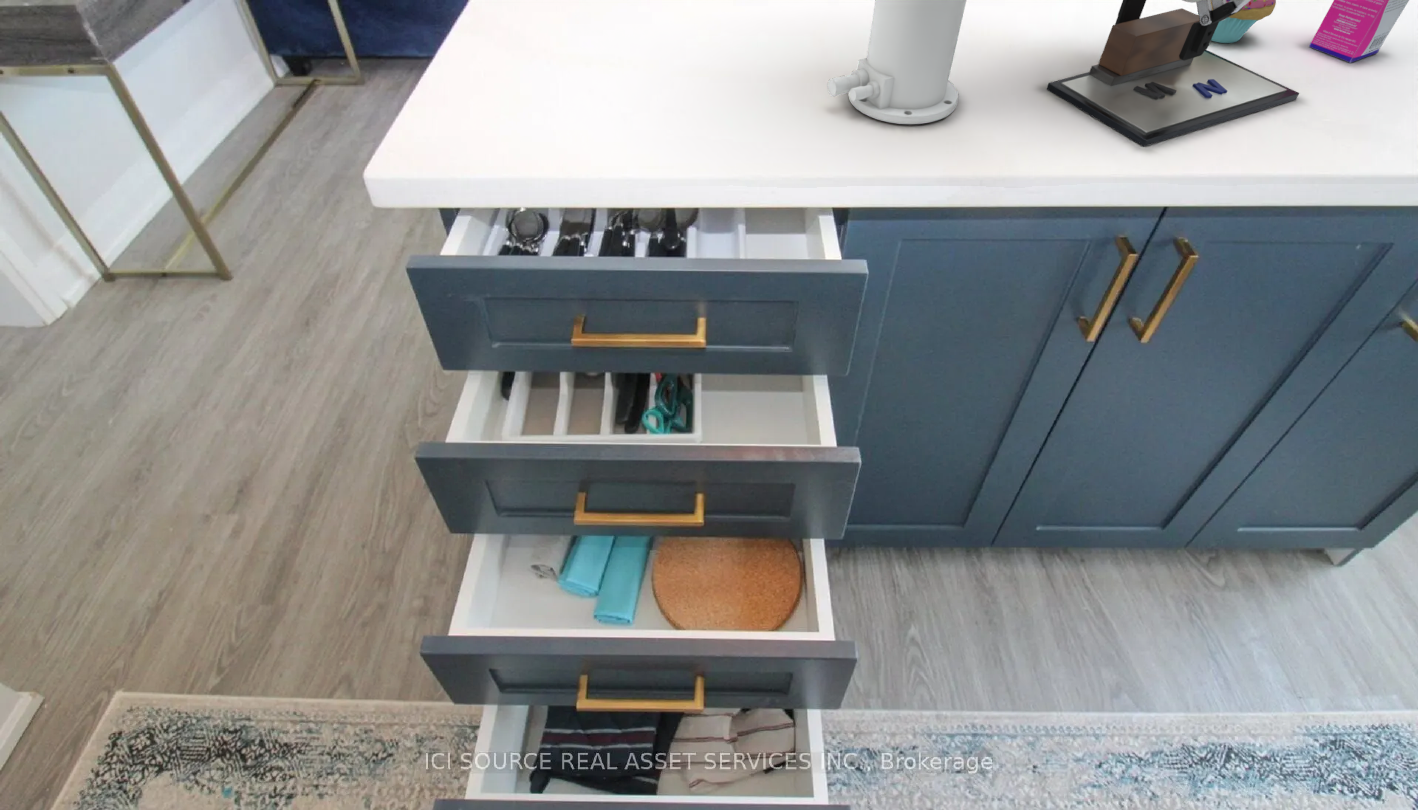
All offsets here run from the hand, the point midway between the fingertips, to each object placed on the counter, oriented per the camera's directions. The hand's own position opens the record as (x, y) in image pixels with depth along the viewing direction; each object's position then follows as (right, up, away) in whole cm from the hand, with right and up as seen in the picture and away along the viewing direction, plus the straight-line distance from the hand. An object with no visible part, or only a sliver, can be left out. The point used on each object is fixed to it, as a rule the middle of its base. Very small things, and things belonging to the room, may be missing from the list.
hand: (1156, 41), depth 89 cm
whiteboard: (+2, -6, 0) cm, 6 cm away
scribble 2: (+5, -6, -1) cm, 8 cm away
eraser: (-1, -2, +2) cm, 3 cm away
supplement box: (+28, +2, +8) cm, 29 cm away
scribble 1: (-1, -7, -2) cm, 7 cm away
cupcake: (+15, +6, +11) cm, 19 cm away
